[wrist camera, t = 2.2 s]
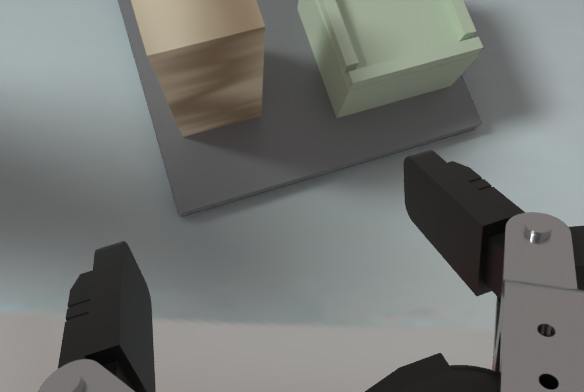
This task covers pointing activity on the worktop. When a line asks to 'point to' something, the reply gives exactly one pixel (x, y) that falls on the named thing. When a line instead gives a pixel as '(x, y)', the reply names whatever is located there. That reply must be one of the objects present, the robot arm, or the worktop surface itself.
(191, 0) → the birch pillar
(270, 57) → the grey flat plate
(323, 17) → the green plinth
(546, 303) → the robot arm
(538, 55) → the worktop surface
